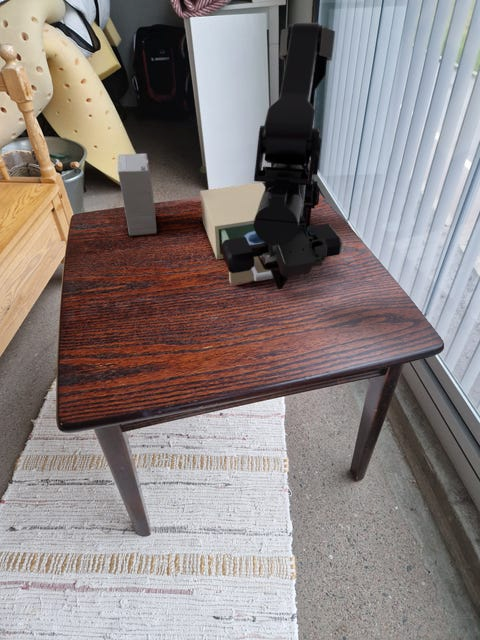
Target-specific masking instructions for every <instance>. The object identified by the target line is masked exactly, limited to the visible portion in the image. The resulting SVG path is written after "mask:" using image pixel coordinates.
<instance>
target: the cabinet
mask: <svg viewBox="0 0 480 640" xmlns="http://www.w3.org/2000/svg"><path fill="white" fill-rule="evenodd" d="M264 191H265V184H264V182H254V183H247V184H240V185H233V186H226V187H218V188H217V187H216V188H211V189H203V190H200V191H199V196H200V206H201V218H202V224H203V227H204V229H205V232H206V235H207V237H208V240H209V243H210V245H211V249H212V250H213V254H214V256H215V259H216V260H222V259H223V260H224V257H223V255H222V251H221V249H220V243H219V229H223V228H229V227H236V226H242V225H249V224H254V219H255V216H256V213H257V210H258V207H259V204H260V201H261V198H262V195H263V193H264Z"/></svg>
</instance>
